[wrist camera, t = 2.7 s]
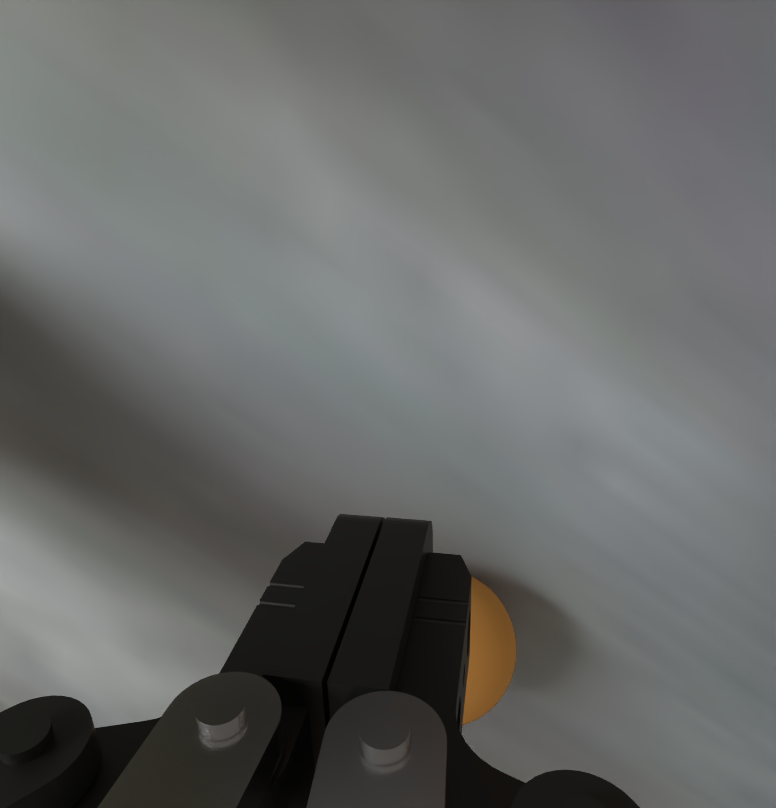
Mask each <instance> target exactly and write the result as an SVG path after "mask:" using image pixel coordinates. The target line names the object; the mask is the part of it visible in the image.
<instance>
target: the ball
mask: <svg viewBox="0 0 776 808" xmlns="http://www.w3.org/2000/svg"><path fill="white" fill-rule="evenodd" d="M471 577H472V576H471ZM516 654H517V652H516V637H515V632H514V628H513V625H512V622H511V619H510V616H509V614H508V613H507V611H506V609H505V607H504V605H503V604H502V602H501V601H500V599H499V598H498V597H497V596H496V595H495V594H494V592H493V591H492V590H491V589H490V588H488V587H487V586H486V585H485V584H484V583H482V582H481V581H479V580H477V579H476V578H474V577H472V585H471V628H470V657H469V667H468V676H467V684H466V695H465V703H464V713H463V723H462V725H464V724H467V723H470V722H472V721H474V720H476V719H478V718H480V717H482V716H483V715H484V714H486V713H487V712H488V711H490V710H491V709H492V708H493V707H494V706H495V705H496V704H497V702H498V701H499V700H500V699H501V697H502V696H503V695H504V693H505V691H506V689H507V687H508V686H509V684H510V681H511V678H512V675H513V672H514V669H515V663H516Z"/></svg>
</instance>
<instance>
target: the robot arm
mask: <svg viewBox="0 0 776 808" xmlns="http://www.w3.org/2000/svg"><path fill="white" fill-rule="evenodd" d="M471 585H472V577H471V575H470V573H469V571H468V569H467V567H466V565H465V563H464V561H463V559H462V557H461V555H452V554H441V553H433V530H432V522H431V521H425V520H412V519H400V518H386V519H385V518H383V517H372V516H359V515H346V514H340V515H339V516H338V517H337V519H336V521H335V523H334V525H333V527H332V529H331V531H330V533H329V535H328V537H327V540H326V542H325V544H324V543H312V542H304V543H303V544H302V545H301V546H299V547H298V548H297V549H295V550H294V551H293V552H292V553H290V554H289V555H288V556H287V557H285V558H284V559H283V560H282V561H281V563H280V565H279V567H278V569H277V570H276V572H275V574H274V576H273V578H272V579H271V581H270V586H268V587H267V588H266V590H265V592H264V594H263V596H262V598H261V599H260V604H259V605H257V607H256V608H255V610H254V612H253V614H252V616H251V617H250V619H249V621H248V623H247V625H246V626H245V628H244V630H243V632H242V634H241V635H240V637H239V639H238V641H237V643H236V644H235V646H234V648H233V650H232V652H231V653H230V655H229V657H228V659H227V661H226V662H225V664H224V666H223V668H222V670H221V672H220V673H219V674H216V675H212V676H209V677H207V678H204V679H202V680H200V681H198V682H196V683H194V684H192V685H191V686H189V687H188V688H186V689H185V690H184V691H182V692H181V693H180V694H179V695H178V696H177V697H176V698H175V699H174V700H173V702H172V703H171V704H170V705H169V707H168V708H167V710H166V711H165V712H164V714H163V715H162V717H160V718H157V719H152V720H147V721H141V722H134V723H127V724H121V725H114V726H107V727H100V728H94V724H93V721H92V717H91V714H90V712H89V710H88V709H87V707H86V706H85V705H84V704H83V703H81V702H80V701H78V700H76V699H73V698H71V697H66V696H45V697H39V698H35V699H31V700H28V701H25V702H22V703H19V704H17V705H15V706H13V707H10V708H8V709H6V710H4V711H2V712H0V808H639V806H638V805H637V804H636V803H635V802H634V801H633V800H632V799H631V798H630V797H629V796H628V795H626V794H625V793H624V792H623V791H622V790H620V789H619V788H618V787H616V786H615V785H613V784H611V783H610V782H608V781H606V780H604V779H602V778H600V777H597V776H595V775H592V774H589V773H585V772H581V771H574V770H555V771H551V772H546V773H543V774H541V775H538V776H536V777H534V778H533V779H531V780H530V781H528V782H527V783H524V782H522V781H520V780H518V779H516V778H513V777H511V776H509V775H507V774H505V773H503V772H501V771H499V770H497V769H495V768H493V767H492V766H490V765H489V764H487V763H486V762H484V761H483V760H482V759H480V758H479V757H478V756H477V755H476V754H475V753H474V752H473V751H472V750H471V748H470V747H469V746H468V744H467V743H466V742H465V740H464V738H463V736H462V735H461V732H462V723H463V713H464V703H465V695H466V684H467V676H468V667H469V657H470V628H471Z"/></svg>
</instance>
